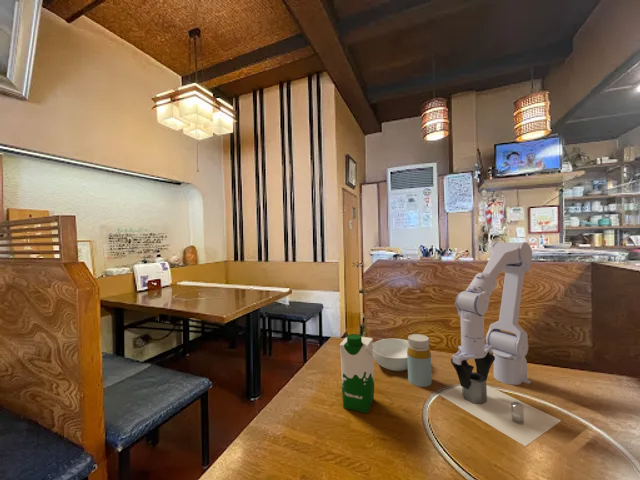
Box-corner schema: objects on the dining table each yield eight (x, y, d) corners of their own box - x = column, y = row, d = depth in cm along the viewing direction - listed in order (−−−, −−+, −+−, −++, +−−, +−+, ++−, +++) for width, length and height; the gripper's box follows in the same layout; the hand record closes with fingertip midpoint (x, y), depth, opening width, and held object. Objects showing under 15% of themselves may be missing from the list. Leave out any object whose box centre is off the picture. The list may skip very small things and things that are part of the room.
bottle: (434, 391, 81) (432, 342, 81) (409, 389, 83) (408, 341, 82) (429, 379, 88) (427, 333, 88) (407, 377, 90) (405, 333, 89)
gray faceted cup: (471, 389, 79) (470, 369, 79) (490, 399, 74) (489, 378, 74) (458, 395, 77) (458, 374, 77) (477, 406, 72) (477, 384, 72)
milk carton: (339, 409, 75) (336, 337, 75) (349, 391, 83) (347, 327, 83) (370, 416, 71) (367, 341, 71) (377, 397, 79) (375, 330, 79)
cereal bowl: (371, 355, 107) (370, 337, 107) (414, 356, 105) (414, 338, 105) (373, 377, 91) (373, 356, 91) (425, 379, 88) (424, 358, 88)
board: (474, 382, 85) (473, 379, 85) (561, 425, 65) (561, 420, 65) (439, 398, 78) (439, 394, 78) (525, 451, 58) (525, 446, 58)
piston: (515, 416, 67) (514, 400, 67) (526, 422, 65) (525, 406, 65) (509, 419, 66) (509, 403, 66) (520, 425, 64) (520, 409, 64)
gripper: (474, 326, 82) (476, 370, 82) (442, 335, 76) (443, 383, 76) (499, 333, 76) (500, 381, 76) (465, 344, 69) (467, 396, 70)
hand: (473, 383), depth 76 cm, fingers open, 7 cm apart
